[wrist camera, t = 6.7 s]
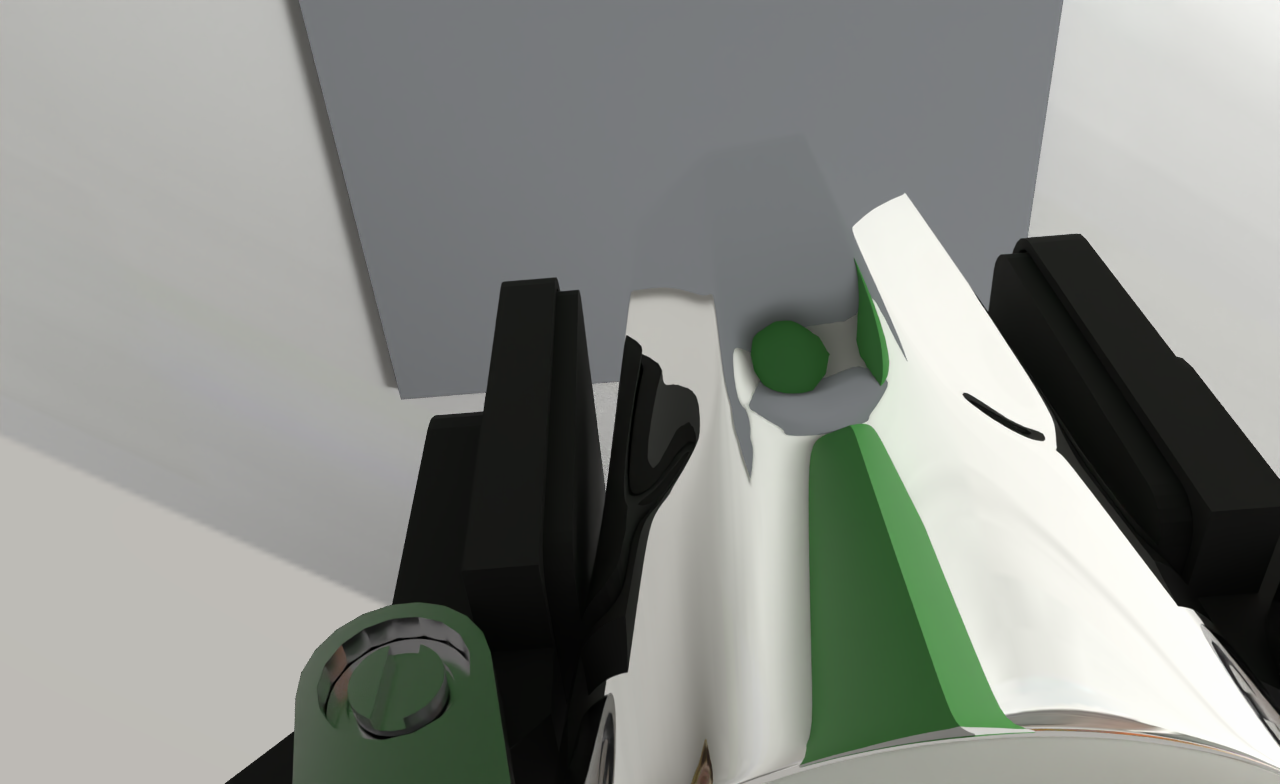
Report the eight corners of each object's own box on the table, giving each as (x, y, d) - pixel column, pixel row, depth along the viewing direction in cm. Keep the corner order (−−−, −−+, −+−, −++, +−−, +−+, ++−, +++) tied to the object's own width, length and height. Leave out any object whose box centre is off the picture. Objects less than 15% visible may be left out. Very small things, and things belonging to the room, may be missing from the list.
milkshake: (554, 466, 14) (467, 1704, 6) (583, 47, 11) (485, 1471, 3) (905, 490, 14) (1297, 1688, 6) (1033, 89, 11) (2216, 1464, 3)
